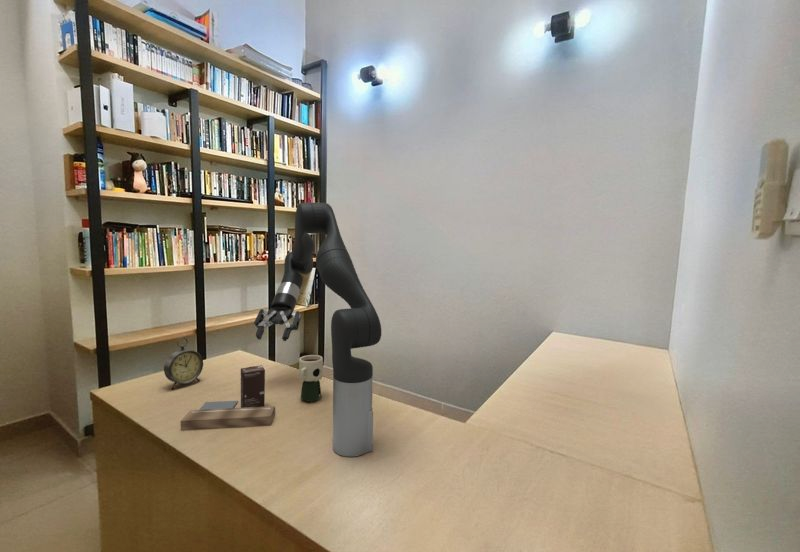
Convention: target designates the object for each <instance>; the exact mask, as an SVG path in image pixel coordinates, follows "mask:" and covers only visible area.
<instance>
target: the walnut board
mask: <svg viewBox="0 0 800 552" xmlns="http://www.w3.org/2000/svg"><path fill="white" fill-rule="evenodd" d="M275 417H276V405H271V406H267V405H266V406H265V407H246V408H241V407H234V408H225V409H204V410H199V409H190V410H189V411H188V412H187V413H186V414H185V415H184V417H183V418H181V420H180V431H191V430H194V431H195V430H208V429H209V430H211V429H212V430H213V429H230V428H231V429H232V428H247V427H263V426H267V427H268V426H272V423H273V421H274V419H275Z"/></svg>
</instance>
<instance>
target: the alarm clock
mask: <svg viewBox="0 0 800 552" xmlns="http://www.w3.org/2000/svg"><path fill="white" fill-rule="evenodd" d="M182 339H184V340H186V343H185V344H184V345H181V346H180V345H179V341H180V340H182ZM188 343H189V341H188V338H186V337H184V336H182V337H180V338H178V340H177V342H176V345H177V347H179V348H180V349H178V350H176V351H174V352H173V353H171V354H170V355H169V356H168V357H167V358H166V360H165V362H164V366H163V371H164V372H163V373H164V376H165V377H166V378H167V379H168V380H169V381H170V382H173V384H172V387H171V388H170V390H174V389H175V387H176V385H177V384H179V385H187V384H190V383H191V382H193V381H195V380H196V381H197V382H200V379H199V378H198V377H199V376H200V375H201V373H202V371H203V369H204V361H203V360H204V358H203V357H202V355H201V354H200V353H199V351H196V350H193V349H185V347H186V346H187V345H188Z"/></svg>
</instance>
